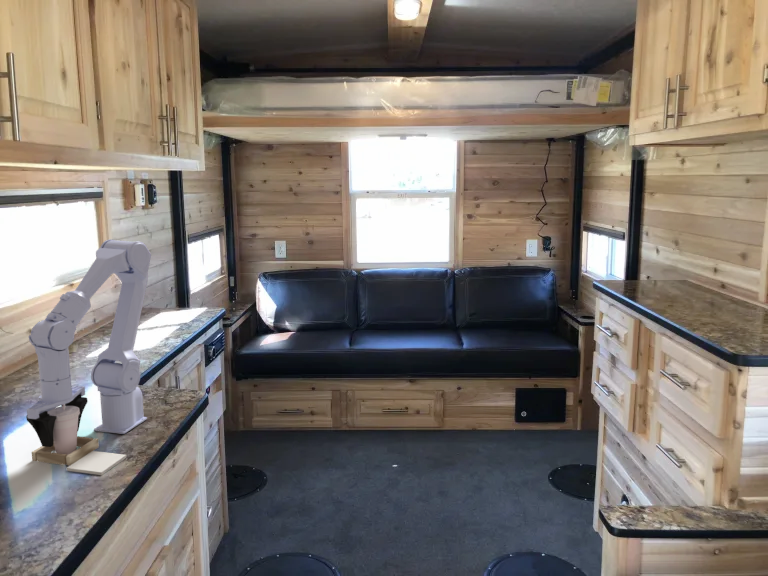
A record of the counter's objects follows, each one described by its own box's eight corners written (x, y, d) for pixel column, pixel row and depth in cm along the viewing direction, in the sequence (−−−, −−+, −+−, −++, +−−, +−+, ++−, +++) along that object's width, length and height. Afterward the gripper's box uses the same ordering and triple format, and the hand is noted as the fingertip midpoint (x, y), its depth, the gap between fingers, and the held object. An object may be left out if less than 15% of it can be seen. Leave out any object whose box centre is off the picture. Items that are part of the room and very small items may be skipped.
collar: (63, 443, 137) (62, 434, 136) (99, 447, 135) (98, 438, 135) (32, 461, 128) (31, 452, 128) (70, 465, 126) (69, 456, 126)
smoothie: (88, 447, 135) (83, 386, 132) (74, 460, 128) (69, 396, 126) (58, 447, 135) (53, 386, 132) (43, 460, 128) (37, 396, 126)
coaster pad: (93, 453, 132) (92, 450, 132) (126, 457, 130) (126, 454, 130) (66, 470, 124) (66, 467, 124) (101, 475, 123) (101, 472, 122)
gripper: (63, 365, 136) (68, 423, 139) (11, 386, 123) (17, 450, 125) (91, 367, 135) (95, 426, 137) (42, 389, 121) (47, 454, 124)
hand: (60, 438), depth 131 cm, fingers open, 7 cm apart
